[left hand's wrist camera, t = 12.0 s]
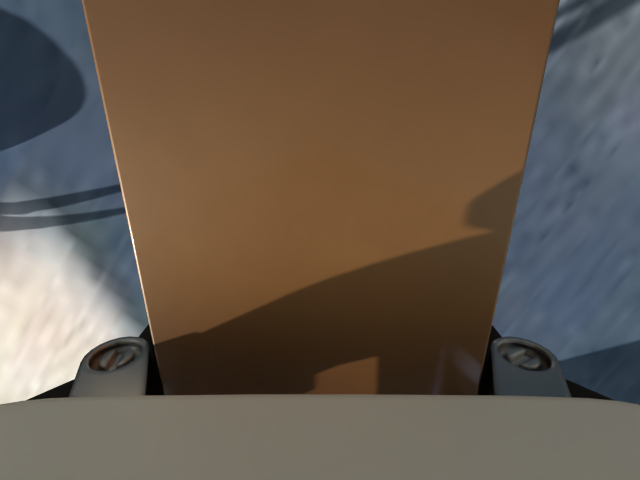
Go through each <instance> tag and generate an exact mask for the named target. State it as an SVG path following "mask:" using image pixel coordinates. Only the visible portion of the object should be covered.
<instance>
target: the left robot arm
mask: <svg viewBox="0 0 640 480" xmlns="http://www.w3.org/2000/svg"><path fill="white" fill-rule="evenodd" d="M0 480H640V405H638V404H633V403H627V402H621V401H614V400H612V399H610V398H608V397H605V396H603V395H601V394H598V393H596V392H594V391H591V390H589V389H587V388H585V387H582V386H580V385H578V384H575V383H573V382H571V381H568V380H566V379H565V377H564V374H563V372H562V369H561V366H560V363H559V361H558V360H557V358H556V356H555V355H554V354H553V353H551V352H550V351H549V350H548V349H546V348H545V347H543V346H541V345H540V344H537V343H535V342H533V341H530V340H527V339H523V338H518V337H501V336H500V334H499V333H498V332H497V331H496V329H495V328H494V327H493V326H492V327H491V332H490V337H489V341H488V346H487V351H486V356H485V361H484V365H483V370H482V375H481V380H480V384H479V389H478V394H477V395H381V394H244V395H164V393H163V388H162V383H161V379H160V374H159V369H158V364H157V359H156V355H155V350H154V345H153V340H152V335H151V330H150V326H149V325H148V326H147V327H146V328H145V330H144V331H143V332H142V333H141V335H140V336H139V337H122V338H117V339H113V340H110V341H107V342H105V343H103V344H100V345H99V346H97V347H95V348H94V349H92V350H91V351H90V352H89V353H87V354H86V355H85V356H84V358H83V360H82V361H81V363H80V366H79V369H78V372H77V374H76V377H75V379H74V380H72V381H69V382H67V383H65V384H63V385H60V386H58V387H56V388H53V389H51V390H49V391H46V392H44V393H42V394H40V395H37V396H35V397H33V398H30V399H28V400H26V401H19V402H13V403H7V404H1V405H0Z"/></svg>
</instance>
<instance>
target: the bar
mask: <svg viewBox="0 0 640 480" xmlns="http://www.w3.org/2000/svg"><path fill="white" fill-rule="evenodd" d="M559 1H560V0H82V3H83V8H84V13H85V18H86V23H87V27H88V32H89V37H90V42H91V47H92V51H93V56H94V61H95V66H96V71H97V75H98V80H99V85H100V90H101V95H102V100H103V104H104V109H105V114H106V119H107V124H108V128H109V133H110V138H111V143H112V148H113V152H114V157H115V162H116V167H117V172H118V177H119V181H120V186H121V191H122V196H123V201H124V205H125V210H126V215H127V220H128V225H129V229H130V234H131V239H132V244H133V249H134V253H135V258H136V263H137V268H138V273H139V278H140V282H141V287H142V292H143V297H144V302H145V306H146V311H147V316H148V321H149V326H150V330H151V335H152V340H153V345H154V350H155V355H156V359H157V364H158V369H159V374H160V379H161V383H162V388H163V393H164V395H244V394H381V395H477V394H478V389H479V384H480V380H481V375H482V370H483V365H484V361H485V356H486V351H487V346H488V341H489V337H490V332H491V327H492V322H493V317H494V313H495V308H496V303H497V298H498V293H499V289H500V284H501V279H502V274H503V269H504V265H505V260H506V255H507V250H508V246H509V241H510V236H511V231H512V226H513V222H514V217H515V212H516V207H517V202H518V198H519V193H520V188H521V183H522V178H523V174H524V169H525V164H526V159H527V155H528V150H529V145H530V140H531V135H532V131H533V126H534V121H535V116H536V111H537V107H538V102H539V97H540V92H541V87H542V83H543V78H544V73H545V68H546V64H547V59H548V54H549V49H550V44H551V40H552V35H553V30H554V25H555V20H556V16H557V11H558V6H559Z"/></svg>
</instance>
